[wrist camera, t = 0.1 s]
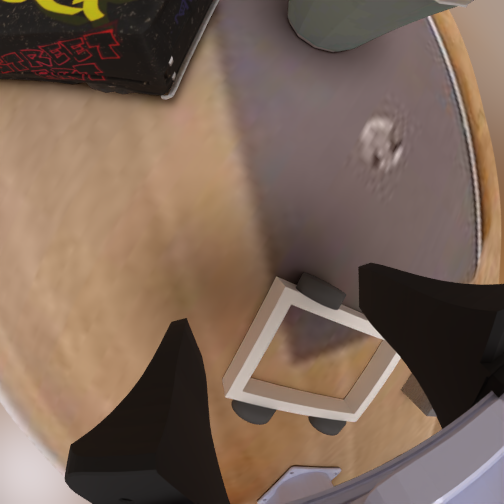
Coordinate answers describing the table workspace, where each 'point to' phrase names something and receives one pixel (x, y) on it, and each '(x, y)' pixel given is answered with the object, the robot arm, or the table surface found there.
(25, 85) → the table surface
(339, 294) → the chassis
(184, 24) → the toy van
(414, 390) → the engine block
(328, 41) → the disposable coffee cup
